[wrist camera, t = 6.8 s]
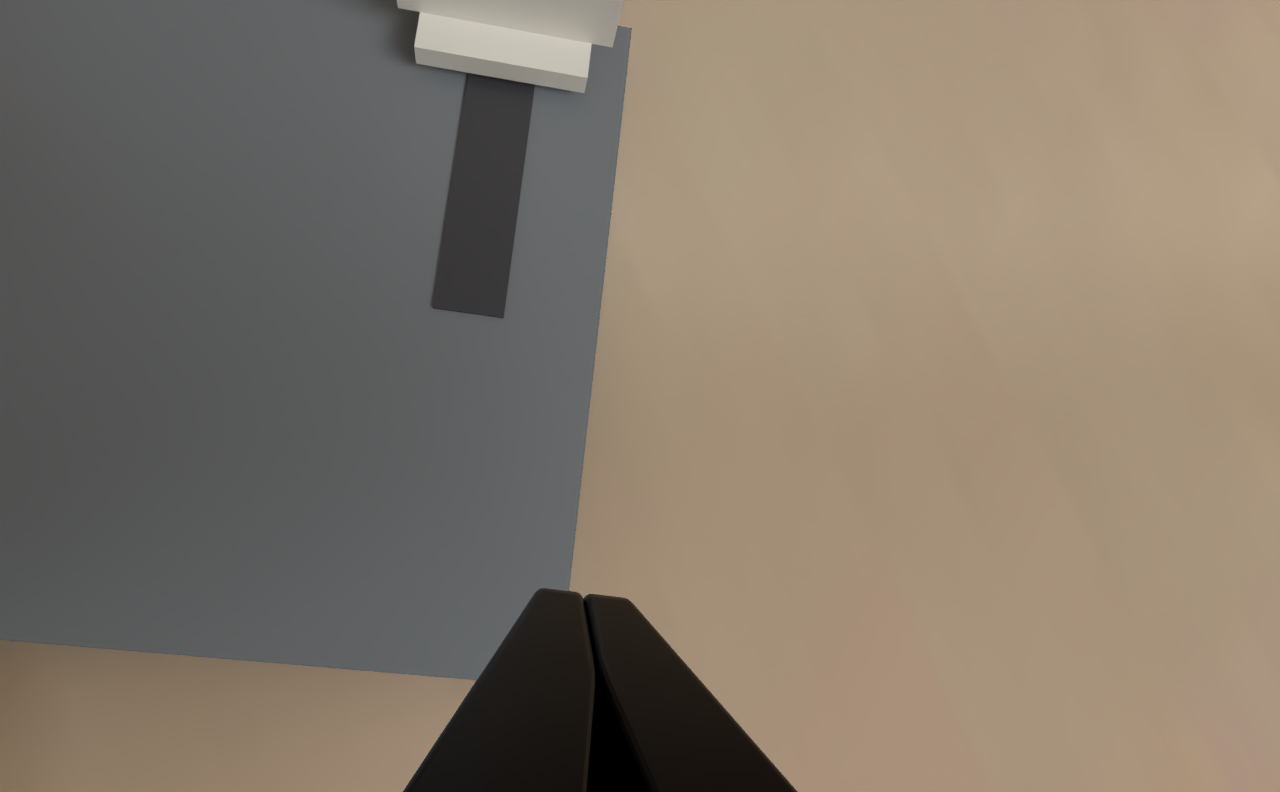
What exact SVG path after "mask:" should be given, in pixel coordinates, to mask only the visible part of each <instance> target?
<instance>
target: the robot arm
mask: <svg viewBox="0 0 1280 792" xmlns="http://www.w3.org/2000/svg"><path fill="white" fill-rule="evenodd" d="M403 792H797V791H796V789H795V788H794V787H793V786H792V785H791V784H790V783H789V781H788V780H787V779H786V778H785V777H784V776H783V775H782V773H781V772H780V771H779V770H778V769H777V768H776V767H775V765H774V764H773V763H772V762H771V761H770V760H769V759H768V757H767V756H766V755H765V754H764V753H763V752H762V751H761V749H760V748H759V747H758V746H757V745H756V744H755V743H754V741H753V740H752V739H751V738H750V737H749V736H748V735H747V733H746V732H745V731H744V730H743V729H742V728H741V727H740V725H739V724H738V723H737V722H736V721H735V720H734V719H733V717H732V716H731V715H730V714H729V713H728V712H727V710H726V709H725V708H724V707H723V706H722V705H721V704H720V702H719V701H718V700H717V699H716V698H715V697H714V696H713V694H712V693H711V692H710V691H709V690H708V689H707V688H706V686H705V685H704V684H703V683H702V682H701V681H700V680H699V678H698V677H697V676H696V675H695V674H694V673H693V672H692V670H691V669H690V668H689V667H688V666H687V665H686V664H685V662H684V661H683V660H682V659H681V658H680V657H679V656H678V654H677V653H676V652H675V651H674V650H673V649H672V648H671V646H670V645H669V644H668V643H667V642H666V641H665V640H664V638H663V637H662V636H661V635H660V634H659V633H658V632H657V630H656V629H655V628H654V627H653V626H652V625H651V624H650V622H649V621H648V620H647V619H646V618H645V617H644V616H643V614H642V613H641V612H640V611H639V610H638V609H637V608H636V606H635V605H634V604H633V603H632V602H631V601H630V600H628V599H626V598H622V597H613V596H605V595H596V594H589V595H587V596H585V598H584V599H583V597H582V595H580V594H579V593H577V592H572V591H564V590H556V589H548V588H541V589H538V590H537V591H536V592H535V593H534V595H533V596H532V598H531V599H530V601H529V602H528V604H527V605H526V607H525V608H524V610H523V611H522V613H521V614H520V616H519V617H518V619H517V620H516V622H515V624H514V625H513V627H512V628H511V630H510V631H509V633H508V634H507V636H506V637H505V639H504V640H503V642H502V643H501V645H500V646H499V648H498V649H497V651H496V652H495V654H494V655H493V657H492V658H491V660H490V661H489V663H488V664H487V666H486V667H485V669H484V670H483V672H482V673H481V675H480V676H479V678H478V679H477V681H476V682H475V684H474V685H473V687H472V688H471V690H470V691H469V693H468V694H467V696H466V697H465V699H464V700H463V702H462V703H461V705H460V706H459V708H458V709H457V711H456V712H455V714H454V716H453V717H452V719H451V720H450V722H449V723H448V725H447V726H446V728H445V729H444V731H443V732H442V734H441V735H440V737H439V738H438V740H437V741H436V743H435V744H434V746H433V747H432V749H431V750H430V752H429V753H428V755H427V756H426V758H425V759H424V761H423V762H422V764H421V765H420V767H419V768H418V770H417V771H416V773H415V774H414V776H413V777H412V779H411V780H410V782H409V783H408V785H407V786H406V788H405V789H404V791H403Z"/></svg>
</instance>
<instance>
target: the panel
mask: <svg viewBox="0 0 1280 792" xmlns="http://www.w3.org/2000/svg"><path fill="white" fill-rule="evenodd" d="M419 15H420V12H417V11H412V10H406V9H401V8H398V6H397V0H0V640H10V641H22V642H34V643H46V644H57V645H69V646H81V647H93V648H104V649H116V650H128V651H140V652H152V653H163V654H175V655H187V656H199V657H210V658H222V659H234V660H246V661H257V662H269V663H281V664H293V665H305V666H316V667H328V668H340V669H352V670H363V671H375V672H387V673H399V674H411V675H422V676H434V677H446V678H458V679H469V680H477V679H478V678H479V676H480V675H481V673H482V672H483V670H484V669H485V667H486V666H487V664H488V663H489V661H490V660H491V658H492V657H493V655H494V654H495V652H496V651H497V649H498V648H499V646H500V645H501V643H502V642H503V640H504V639H505V637H506V636H507V634H508V633H509V631H510V630H511V628H512V627H513V625H514V624H515V622H516V620H517V619H518V617H519V616H520V614H521V613H522V611H523V610H524V608H525V607H526V605H527V604H528V602H529V601H530V599H531V598H532V596H533V595H534V593H535V592H536V591H537V590H538V589H541V588H548V589H556V590H564V591H569V586H570V577H571V568H572V559H573V550H574V541H575V532H576V523H577V514H578V505H579V496H580V487H581V478H582V469H583V460H584V451H585V442H586V433H587V424H588V415H589V407H590V398H591V389H592V380H593V371H594V362H595V353H596V344H597V335H598V326H599V317H600V308H601V299H602V290H603V281H604V272H605V263H606V254H607V245H608V236H609V227H610V218H611V209H612V200H613V191H614V183H615V174H616V165H617V156H618V147H619V138H620V129H621V120H622V111H623V102H624V93H625V84H626V75H627V66H628V57H629V48H630V39H631V30H632V28H627V27H621V26H618V27H617V31H616V35H615V40H614V44H613V48H612V47H607V46H601V45H596V44H592V46H591V54H590V62H589V70H588V78H587V83H586V88H585V93H580V92H574V91H569V90H563V89H557V88H552V87H546V86H540V85H535V84H529V83H523V82H518V81H512V80H506V79H501V78H495V77H490V76H484V75H478V74H473V73H467V72H461V71H456V70H450V69H444V68H439V67H433V66H427V65H422V64H416V58H415V50H414V44H415V38H416V32H417V27H418V21H419Z"/></svg>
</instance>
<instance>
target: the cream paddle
mask: <svg viewBox="0 0 1280 792" xmlns="http://www.w3.org/2000/svg"><path fill="white" fill-rule="evenodd" d="M623 2H624V0H397V6H398V8H401V9H406V10H412V11H417V12H420V15H419V21H418V27H417V32H416V38H415V44H414V50H415V58H416V64H422V65H427V66H433V67H439V68H444V69H450V70H456V71H461V72H467V73H473V74H478V75H484V76H490V77H495V78H501V79H506V80H512V81H518V82H523V83H529V84H535V85H540V86H546V87H552V88H557V89H563V90H569V91H574V92H580V93H585V88H586V83H587V78H588V70H589V62H590V54H591V46H592V44H596V45H601V46H607V47H612V48H613V44H614V40H615V35H616V31H617V27H618V23H619V19H620V15H621V11H622V6H623Z"/></svg>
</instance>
